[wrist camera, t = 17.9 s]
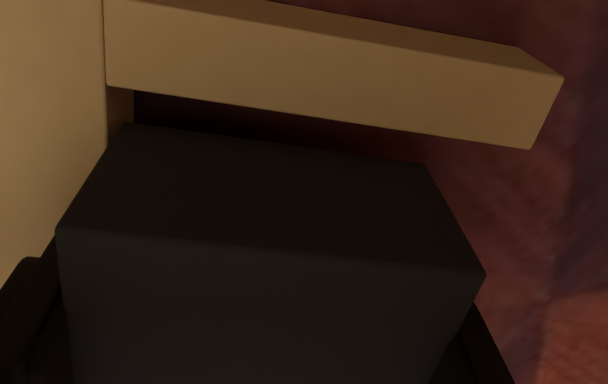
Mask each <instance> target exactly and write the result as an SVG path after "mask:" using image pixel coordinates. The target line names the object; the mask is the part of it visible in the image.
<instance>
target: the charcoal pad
mask: <svg viewBox="0 0 608 384" xmlns="http://www.w3.org/2000/svg"><path fill="white" fill-rule="evenodd" d="M54 230H55V239H56V248H57V257H58V266H59V275H60V284H61V293H62V302H63V310H64V311H66V314H67V324H68V333H69V342H70V351H71V361H72V370H73V379H74V384H428V383H429V381H430V379H431V377H432V375H433V373H434V371H435V369H436V367H437V365H438V363H439V361H440V359H441V357H442V355H443V353H444V351H445V349H446V347H447V345H448V343H452V342H453V340H454V338H455V336H456V334H457V332H458V331H459V329H460V327H461V325H462V323H463V321H464V319H465V317H466V315H467V313H468V311H469V309H470V307H471V305H472V303H473V301H474V299H475V297H476V295H477V293H478V291H479V289H480V287H481V285H482V283H483V281H484V279H485V277H486V272H485V270H484V268H483V266H482V264H481V263H480V261H479V259H478V257H477V256H476V254H475V252H474V250H473V249H472V247H471V245H470V243H469V242H468V240H467V238H466V236H465V235H464V233H463V231H462V229H461V227H460V226H459V224H458V222H457V220H456V219H455V217H454V215H453V213H452V212H451V210H450V208H449V206H448V205H447V203H446V201H445V199H444V198H443V196H442V194H441V192H440V190H439V189H438V187H437V185H436V183H435V182H434V180H433V178H432V176H431V175H430V173H429V171H428V169H427V168H426V166H425V165H424V164H422V163H417V162H409V161H402V160H395V159H388V158H381V157H374V156H367V155H359V154H352V153H345V152H338V151H331V150H324V149H317V148H309V147H302V146H295V145H288V144H281V143H274V142H267V141H259V140H252V139H245V138H238V137H231V136H224V135H216V134H209V133H202V132H195V131H188V130H181V129H174V128H166V127H159V126H152V125H145V124H138V123H131V122H124V123H122V125H121V126H120V128H119V129H118V131H117V132H116V134H115V136H114V137H113V139H112V140H111V142H110V143H109V145H108V146H107V148H106V149H105V151H104V152H103V154H102V156H101V157H100V159H99V160H98V162H97V163H96V165H95V166H94V168H93V169H92V171H91V173H90V174H89V176H88V177H87V179H86V180H85V182H84V183H83V185H82V186H81V188H80V190H79V191H78V193H77V194H76V196H75V197H74V199H73V200H72V202H71V203H70V205H69V207H68V208H67V210H66V211H65V213H64V214H63V216H62V217H61V219H60V220H59V222H58V224H57V225H56V227H55V229H54Z"/></svg>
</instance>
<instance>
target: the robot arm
mask: <svg viewBox="0 0 608 384" xmlns="http://www.w3.org/2000/svg"><path fill="white" fill-rule="evenodd" d="M0 384H74V379H73V370H72V361H71V351H70V342H69V333H68V324H67V314H66V311H64V310H63V302H62V293H61V284H60V275H59V266H58V257H57V248H56V239H55V235H54V236H53V238H52V239H51V241H50V243H49V244H48V246H47V247H46V249H45V250H44V252H43V254H42V255H41V257H31V256H26V257H25V258H23V259H22V260H21V261H20V262H19V263H18V264H17V266H16V267H15V269H14V270H13V272H12V273H11V275H10V276H9V277H8V279H7V280H6V282H5V283H4V285H3V286H2V288H1V289H0ZM428 384H515V383H514V380H513V378H512V376H511V374H510V372H509V370H508V368H507V366H506V364H505V362H504V360H503V358H502V356H501V354H500V352H499V350H498V348H497V346H496V344H495V342H494V340H493V338H492V336H491V334H490V332H489V330H488V328H487V326H486V324H485V322H484V320H483V318H482V316H481V314H480V312H479V310H478V308H477V306H476V305H475V303H474V302H473V303H472V305H471V307H470V309H469V311H468V313H467V315H466V317H465V319H464V321H463V323H462V325H461V327H460V329H459V331H458V332H457V334H456V336H455V338H454V340H453V342H452V343H448V345H447V347H446V349H445V351H444V353H443V355H442V357H441V359H440V361H439V363H438V365H437V367H436V369H435V371H434V373H433V375H432V377H431V379H430V381H429V383H428Z"/></svg>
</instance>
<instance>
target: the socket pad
mask: <svg viewBox="0 0 608 384" xmlns="http://www.w3.org/2000/svg"><path fill="white" fill-rule="evenodd" d="M563 82H564V77H563V76H562V75H560V74H558V73H557V72H555V71H554V70H552V69H551V68H549V67H548V66H546V65H544V64H543V63H541V62H540V61H538V60H537V59H535V58H534V57H532V56H530V55H529V54H527V53H526V52H524V51H523V50H521V49H520V48H518V47H514V46H509V45H503V44H498V43H493V42H487V41H482V40H476V39H471V38H466V37H460V36H455V35H449V34H444V33H439V32H433V31H428V30H422V29H417V28H412V27H406V26H401V25H395V24H390V23H385V22H379V21H374V20H368V19H363V18H357V17H352V16H347V15H341V14H336V13H330V12H325V11H320V10H314V9H309V8H303V7H298V6H293V5H287V4H282V3H276V2H271V1H266V0H0V289H1V288H2V286H3V285H4V283H5V282H6V280H7V279H8V277H9V276H10V275H11V273H12V272H13V270H14V269H15V267H16V266H17V264H18V263H19V262H20V261H21V260H22V259H23V258H25V257H26V256H31V257H41V255H42V254H43V252H44V250H45V249H46V247H47V246H48V244H49V243H50V241H51V239H52V238H53V236H54V235H55V230H54V229H55V227H56V225H57V224H58V222H59V220H60V219H61V217H62V216H63V214H64V213H65V211H66V210H67V208H68V207H69V205H70V203H71V202H72V200H73V199H74V197H75V196H76V194H77V193H78V191H79V190H80V188H81V186H82V185H83V183H84V182H85V180H86V179H87V177H88V176H89V174H90V173H91V171H92V169H93V168H94V166H95V165H96V163H97V162H98V160H99V159H100V157H101V156H102V154H103V152H104V151H105V149H106V148H107V146H108V145H109V143H110V142H111V140H112V139H113V137H114V136H115V134H116V132H117V131H118V129H119V128H120V126H121V125H122V123H124V122H131V123H134V90H139V91H146V92H153V93H159V94H166V95H172V96H179V97H185V98H192V99H199V100H205V101H212V102H218V103H225V104H231V105H238V106H244V107H251V108H258V109H264V110H271V111H277V112H284V113H290V114H297V115H304V116H310V117H317V118H323V119H330V120H336V121H343V122H350V123H356V124H363V125H369V126H376V127H382V128H389V129H395V130H402V131H409V132H415V133H422V134H428V135H435V136H441V137H448V138H455V139H461V140H468V141H474V142H481V143H487V144H494V145H500V146H507V147H514V148H520V149H527V150H529V149H531V147H532V145H533V143H534V141H535V139H536V137H537V135H538V133H539V131H540V129H541V127H542V125H543V123H544V121H545V119H546V117H547V115H548V113H549V111H550V109H551V106H552V104H553V102H554V100H555V98H556V96H557V94H558V92H559V90H560V88H561V86H562V84H563Z"/></svg>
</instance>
